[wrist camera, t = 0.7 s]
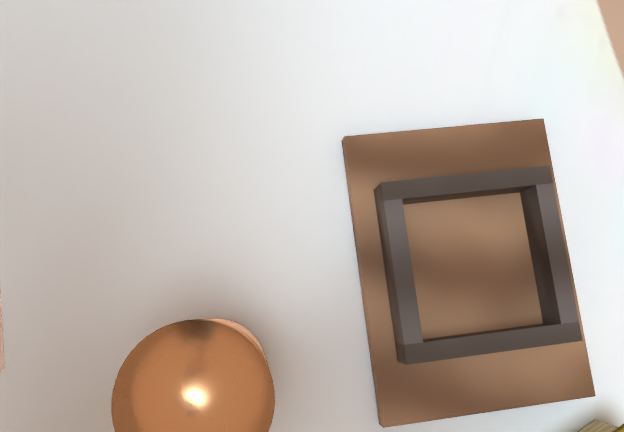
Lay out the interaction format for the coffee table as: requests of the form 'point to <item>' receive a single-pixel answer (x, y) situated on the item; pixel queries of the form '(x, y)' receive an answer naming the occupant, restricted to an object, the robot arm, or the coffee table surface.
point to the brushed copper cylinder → (195, 381)
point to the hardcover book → (601, 427)
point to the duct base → (464, 271)
